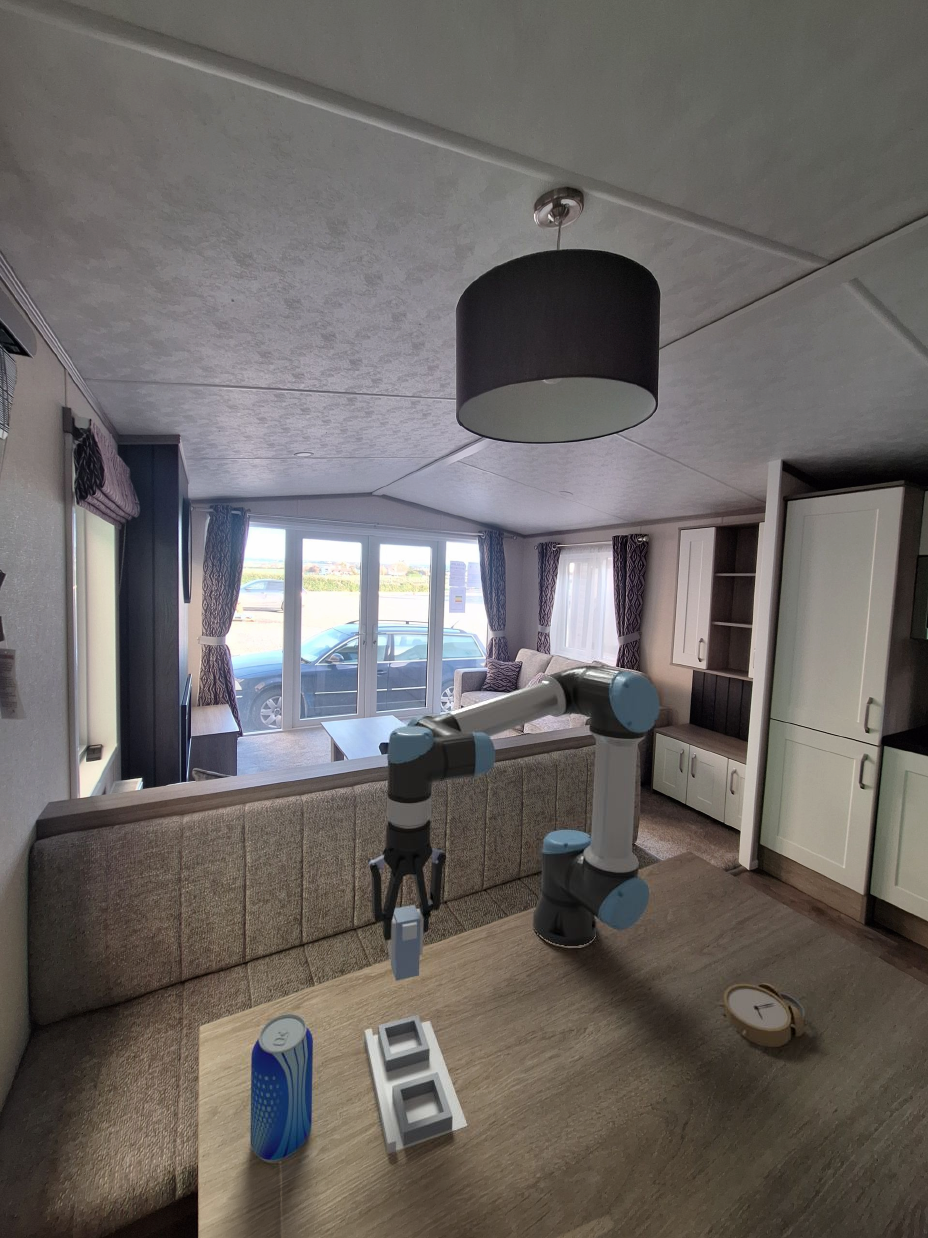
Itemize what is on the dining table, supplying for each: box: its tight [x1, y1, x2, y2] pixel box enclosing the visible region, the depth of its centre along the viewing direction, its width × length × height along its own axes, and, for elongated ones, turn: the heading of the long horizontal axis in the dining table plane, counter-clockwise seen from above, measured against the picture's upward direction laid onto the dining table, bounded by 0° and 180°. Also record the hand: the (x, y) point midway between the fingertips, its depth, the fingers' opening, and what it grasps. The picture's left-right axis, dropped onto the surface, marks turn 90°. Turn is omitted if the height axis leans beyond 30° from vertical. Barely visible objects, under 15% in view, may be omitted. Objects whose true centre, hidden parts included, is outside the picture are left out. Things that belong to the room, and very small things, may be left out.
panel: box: [364, 1014, 468, 1155], centre depth 84 cm, size 12×20×3 cm, turn 20°
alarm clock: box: [717, 982, 808, 1048], centre depth 98 cm, size 11×5×15 cm
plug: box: [390, 904, 421, 982], centre depth 88 cm, size 4×5×10 cm
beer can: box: [249, 1013, 314, 1164], centre depth 75 cm, size 8×8×16 cm
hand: (405, 952), depth 89 cm, fingers closed on plug, 4 cm apart
